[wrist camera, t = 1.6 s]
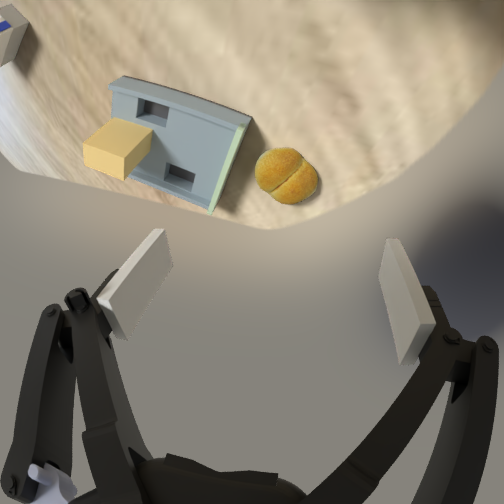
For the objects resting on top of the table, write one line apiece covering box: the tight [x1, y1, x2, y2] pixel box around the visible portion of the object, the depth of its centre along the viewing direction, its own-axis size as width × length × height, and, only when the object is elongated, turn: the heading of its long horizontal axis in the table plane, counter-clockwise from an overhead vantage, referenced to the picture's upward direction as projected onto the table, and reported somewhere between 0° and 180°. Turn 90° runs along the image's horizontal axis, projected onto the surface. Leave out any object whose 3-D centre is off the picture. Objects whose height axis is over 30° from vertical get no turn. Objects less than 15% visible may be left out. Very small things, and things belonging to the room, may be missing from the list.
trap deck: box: [108, 76, 252, 215], centre depth 38 cm, size 20×16×4 cm
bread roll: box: [255, 148, 318, 204], centre depth 39 cm, size 8×9×4 cm
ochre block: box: [83, 117, 153, 181], centre depth 35 cm, size 7×4×8 cm, turn 70°
